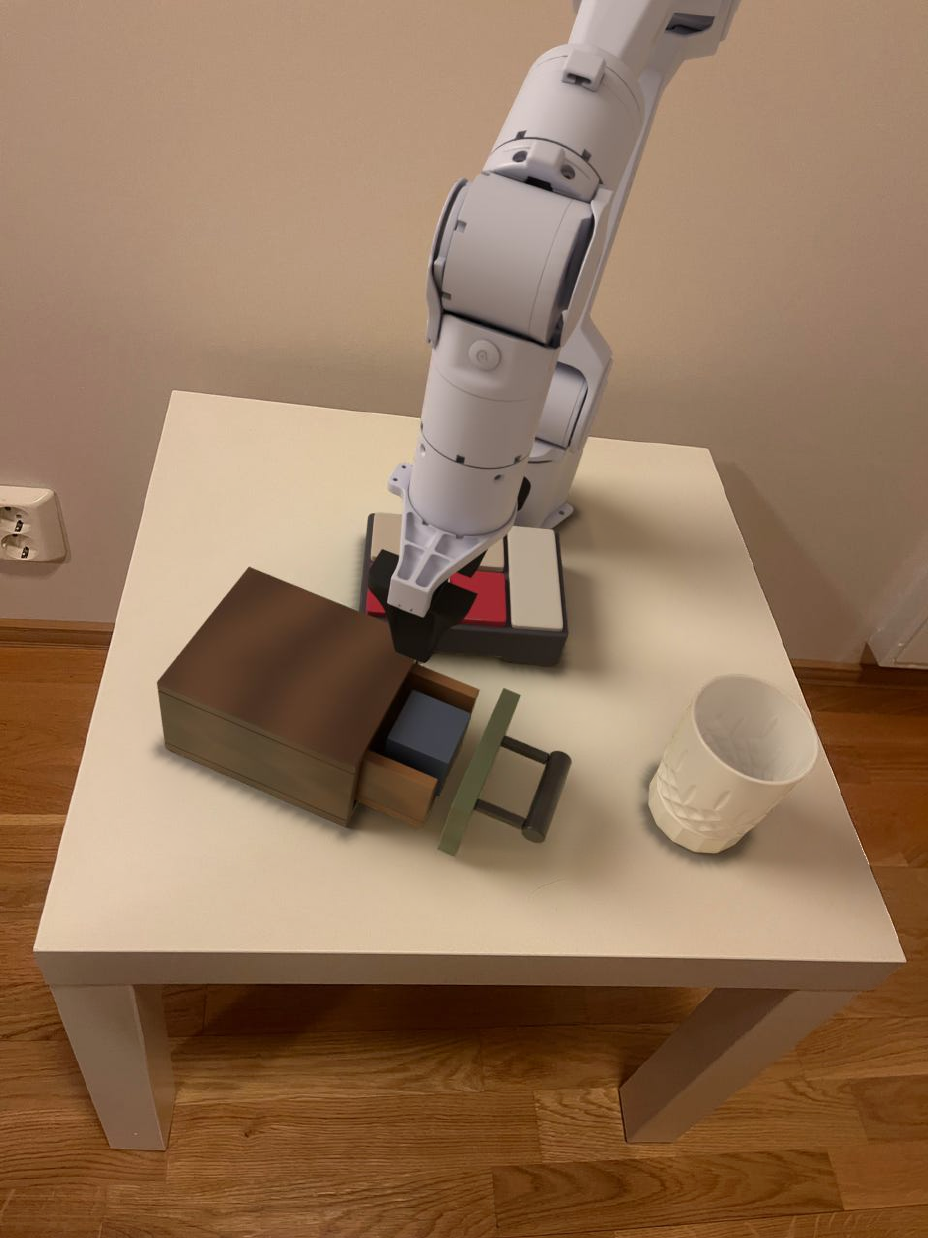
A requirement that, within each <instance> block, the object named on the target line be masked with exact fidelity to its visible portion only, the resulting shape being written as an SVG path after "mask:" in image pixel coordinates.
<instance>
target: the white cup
mask: <svg viewBox="0 0 928 1238" xmlns="http://www.w3.org/2000/svg"><path fill="white" fill-rule="evenodd" d="M819 757H820V739H819V735H818V732H817V728H816V726H815V724H814V723H813V720H812V719H811V717H810V716H809V713H808V712H807V711H806V710H805V708H804V707H803V706H802V705H801V704H800V702H798V700H796V699H795V698H794V697H793V696H792V695H791V694H790V693H788V692H787V691H785V690H784V689H782V688H781V687H779V686H777V685H776V684H774V683H772V682H770V681H769V680H766V679H763V678H760V677H757V676H753V675H749V674H743V673H725V674H720V675H717V676H715V677H712V678H710V679H708V680H707V681H705V682H704V683H702V684H701V685H700V687H698V689H697V691H696V692H695V693H694V696H693V698H692V699H691V702H690V703H689V705H688V707H687V709H686V711H685V712H684V714H683V716H682V718H681V720H680V721H679V723H678V725H677V727H676V729H675V731H674V733H673V734H672V737H671V739H670V741H669V743H668V745H667V748H666V749H665V751H664V753H663V755H662V758H661V761H660V763H659V766H658V769H657V771H656V772H655V774H654V775H653V778H652V779H651V781H650V783H649V785H648V786H649V787H648V797H647V798H648V801H647V805H648V808H649V811H650V813H651V815H652V818H653V820H654V822H655V824H656V826H657V827H658V828H659V829H660V830H661V832H663V834H664V835H666V836H667V838H668V839H670V840H671V841H672V842H673V843H675V844H677V845H679V846H681V847H683V848H684V849H687V850H689V851H691V852H694V853H705V854H718V853H720V852H723V851H725V850H727V849H729V848H731V847H734V846H735V845H736V844H737V843H738V842H739V841H740V840H741V839H742V838H743V837H744V836H745V835H746V834H747V833H748V832H749V831H750V830H752V829H753V828H755V827H756V826H757V825H758V824H760V822H761V821H763V819H764V818H765V817H766V816H768V815H769V814H770V813H771V812H773V810H774V809H775V808H776V807H777V806H778V805H779V804H780V803H781V802H782V801H783V800H784V799H785V798H786V797H787V796H788V795H790V793H791V792H792V791H793V790H794V789H795V788H796V787H798V785H800V783H801V782H802V781H803V780H805V778H806V777H808V775H810V773H811V772H812V771H813V770H814V768H815V766H816V764H817V762H818V761H819Z"/></svg>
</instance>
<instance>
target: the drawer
mask: <svg viewBox="0 0 928 1238" xmlns="http://www.w3.org/2000/svg"><path fill="white" fill-rule="evenodd" d="M412 690H415V691H417V692H420V693H422V694H425V695H427V696H430V697H432V698H434V699H437V700H439V701H442V702H444V703H446V704H449V705H451V706H454V707H456V708H458V709H461V710H463V711H466V712H468V713H471V718H470V721H469V724H468V728H467V731H466V733H467V732H468V730H469V726H470V722H471V719H472V716H473V714H474V710H475V708H476V707H475V706H476V703H477V700H478V698H479V695H480V689H479V688H477V687H474V686H472V685H469V684H467V683H465V682H462V681H460V680H458V679H455V678H452V677H450V676H448V675H445V674H443V673H440V672H438V671H435V670H433V669H431V668H428V667H426V666H423V665H421V664H420V665H419V664H416V663H415V664H414V666H413V668H412V670H411V671H410V673H409V675H408V677H407V679H406V681H405V682H404V684H403V686H402V688H401V690H400V692H399V694H398V695H397V697H396V699H395V701H394V703H393V705H392V706H391V708H390V710H389V712H388V714H387V716H386V717H385V719H384V721H383V723H382V725H381V727H380V728H379V730H378V732H377V734H376V736H375V738H374V739H373V741H372V743H371V745H370V747H369V749H368V750H367V752H366V754H365V756H364V758H363V760H362V762H361V763H360V767H359V773H358V779H357V785H356V791H355V797H354V800H356V801H358V802H359V803H361V804H363V805H366V806H367V807H370V808H372V809H375V810H376V811H379V812H381V813H384V814H386V815H389V816H390V817H393V818H396V819H398V820H400V821H401V822H402V821H403V822H404V823H407V824H410V825H412V826H414V827H416V828H418V829H424V826H425V824H426V822H427V820H428V817H429V815H430V813H431V812H432V809H433V806H434V804H435V802H436V799H437V798H438V797H437V796H434V792H435V789H436V786H437V782H438V779H436V778H434V777H431V776H429V775H427V774H424V773H422V772H420V771H417V770H415V769H413V768H410V767H408V766H406V765H403V764H401V763H398V762H396V761H394V760H391V759H389V758H387V757H384V756H383V755H384V750H385V745H386V740H387V736H388V735H389V733H390V731H391V729H392V727H393V725H394V723H395V721H396V720H397V718H398V716H399V714H400V712H401V710H402V708H403V706H404V705H405V703H406V701H407V699H408V697H409V695H410V693H411V691H412ZM521 696H522V695H521V694H519V693H517V692H515V691H512V690H510V689H508V688H505V687H503V688H502V690H501V692H500V694H499V697H498V699H497V701H496V704H495V706H494V708H493V710H492V713H491V715H490V717H489V720H488V721H487V724H486V726H485V729H484V731H483V732H482V735H481V737H480V740H479V742H478V744H477V747H476V749H475V751H474V754H473V756H472V758H471V760H470V762H469V764H468V767H467V769H466V771H465V774H464V776H463V778H462V781H461V783H460V785H459V787H458V790H457V792H456V794H455V796H454V799H453V800H452V803H451V806H450V808H449V812H448V814H447V817H446V821H445V824H444V827H443V829H442V832H441V836H440V839H439V842H438V844H437V848H436V850H437V851H440V852H442V853H444V854H446V855H449V856H451V857H453V858H455V857H456V856H457V854H458V850H459V849H460V846H461V844H462V841H463V839H464V838H465V837H464V836H465V835H466V832H467V830H468V827H469V825H470V822H471V820H472V818H473V815H474V812H477V813H479V814H482V815H485V816H487V817H489V818H491V819H494V820H495V821H498V822H500V823H503V824H505V825H507V826H510V827H512V828H514V829H517V830H520V833H521V836H522V837H523V838H524V839H525V840H527V841H528V842H531V843H533V844H543V843H544V842H545V841H546V839H547V836H548V833H549V831H550V828H551V825H552V822H553V818H554V815H555V813H556V810H557V806H558V803H559V801H560V798H561V795H562V793H563V790H564V786H565V784H566V782H567V781H566V780H567V778H568V775H569V772H570V769H571V767H572V763H573V759H572V757H571V756H570V755H569V754H568V753H566V752H564V751H561V750H553V751H551V752H550V753H549V752H547V751H545V750H542V749H540V748H538V747H537V748H536V747H535V746H532V745H530V744H527V743H525V742H523V741H520V740H518V739H515V738H513V737H511V736H508V735H507V733H508V731H509V727H510V725H511V723H512V720H513V717H514V714H515V712H516V709H517V706H518V705H519V701H520V699H521ZM502 748H503V749H504V750H507V751H509V752H512V753H514V754H517V755H520V756H522V757H524V758H527V759H530V760H532V761H534V762H536V763H539V764H541V765H543V766H544V768H543V770H542V773H541V776H540V779H539V781H538V784H537V786H536V790H535V792H534V795H533V797H532V800H531V803H530V805H529V808H528V811H527V813H526V816H525V817H524V816H522V815H519V814H518V813H515V812H512V811H510V810H508V809H505V808H504V807H501V806H498V805H496V804H494V803H491V802H489V801H488V800H487V801H486V800H484V799H481V796H482V793H483V791H484V789H485V787H486V784H487V781H488V779H489V777H490V775H491V772H492V770H493V767H494V765H495V762H496V759H497V758H498V755H499V753H500V750H501V749H502Z"/></svg>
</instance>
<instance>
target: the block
mask: <svg viewBox="0 0 928 1238" xmlns="http://www.w3.org/2000/svg"><path fill="white" fill-rule="evenodd" d="M470 718H471V719H472V716H471V713H468V712H466V711H463V710H461V709H458V708H456V707H454V706H451V705H449V704H446V703H444V702H442V701H439V700H437V699H434V698H432V697H430V696H427V695H425V694H422V693H420V692H417V691H415V690H412V691H411V693H410V695H409V697H408V699H407V701H406V703H405V705H404V706H403V708H402V710H401V712H400V714H399V716H398V718H397V720H396V721H395V723H394V725H393V727H392V729H391V731H390V733H389V735H388V736H387V740H386V745H385V750H384V755H383V756H384V757H387V758H389V759H391V760H394V761H396V762H398V763H401V764H403V765H406V766H408V767H410V768H413V769H415V770H417V771H420V772H422V773H424V774H427V775H429V776H431V777H434V778H436V779H438V782H437V786H436V789H435V792H434V796H437V797H436V798H438V797H440V795H441V793H442V791H443V789H444V787H445V785H446V782H447V780H448V778H449V775H450V773H451V771H452V769H453V767H454V765H455V762H456V761H457V758H458V755H459V754H460V751H461V749H462V746H463V743H464V740H465V737H466V734H467V732H468V729H469V726H468V724H469V725H470V723H469V721H470V722H471V720H470ZM467 728H468V729H467ZM466 731H467V732H466Z"/></svg>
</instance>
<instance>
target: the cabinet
mask: <svg viewBox="0 0 928 1238" xmlns="http://www.w3.org/2000/svg"><path fill="white" fill-rule="evenodd" d="M415 663H416V664H419V665H421V663H422V662H419V661H417V660H414V659H412V658H409V657H407V656H405V655H402V654H400V653H397V652H395V650H394V646H393V642H392V637H391V632H390V627H389V623H386V622H384V621H381V620H379V619H376V618H374V617H371V616H369V615H367V614H364V613H362V612H359V610H357V609H355V608H352V607H350V606H347V605H344V604H342V603H339V602H337V601H335V600H332V599H330V598H327V597H325V596H322V595H319V594H318V593H315V592H312V591H310V590H307V589H305V588H303V587H301V586H297V585H295V584H293V583H291V582H288V581H285V580H283V579H282V578H278V577H276V576H274V575H271V574H268V573H265V572H263V571H261V570H258V569H256V568H254V567H252V566H248V567H247V568H246V570H245V571H244V572H243V573H242V575H241V576H240V577H239V578H238V579H237V581H236V582H235V583H234V584H233V585H232V587H231V589H229V591H228V592H227V593H226V595H225V596H223V598H222V600H220V602H219V603H218V604H217V606H216V607H215V608H214V610H213V611H212V612H211V613H210V615H209V616H208V617H207V619H206V620H205V621H204V622H203V623H202V625H201V626H200V627H199V628H198V630H196V632H195V633H194V635H193V636H192V637H191V639H190V640H189V641H188V642H187V644H186V645H185V646H184V647H183V648H182V650H181V651H180V652H179V654H177V656H176V657H175V659H174V660H173V661H172V662H171V663H170V665H169V666H168V667H167V668H166V670H165V671H164V672H163V674H162V675H161V676H159V677H160V678H158V680H156V689H157V695H158V703H159V711H160V719H161V726H162V734H163V742H164V748H165V749H166V750H168V751H170V752H172V753H175V754H177V755H180V756H182V757H184V758H185V759H189V760H191V761H192V762H193V761H194V762H195V763H197V764H200V765H202V766H205V767H207V768H209V769H211V770H213V771H216V772H219V773H220V774H222V775H225V776H227V777H230V778H231V779H235V780H237V781H239V782H241V783H243V784H246V785H249V786H250V787H253V788H255V789H257V790H260V791H262V792H264V793H267V794H269V795H271V796H273V797H276V798H278V799H281V800H283V801H285V802H287V803H290V804H291V805H294V806H296V807H298V808H301V809H303V810H306V811H307V812H310V813H312V814H315V815H317V816H319V817H322V818H324V819H325V820H329V821H331V822H333V823H335V824H337V825H340V826H342V827H344V828H346V827H348V824H349V823H350V820H351V819H352V818H353V817H352V816H353V815H354V813H355V811H356V809H357V807H358V806H359V803H360V802H358V801H356V800H354V797H355V791H356V785H357V779H358V773H359V767H360V763H361V762H362V760H363V758H364V756H365V754H366V752H367V750H368V749H369V747H370V745H371V743H372V741H373V739H374V738H375V736H376V734H377V732H378V730H379V728H380V727H381V725H382V723H383V721H384V719H385V717H386V716H387V714H388V712H389V710H390V708H391V706H392V705H393V703H394V701H395V699H396V697H397V695H398V694H399V692H400V690H401V688H402V686H403V684H404V682H405V681H406V679H407V677H408V675H409V673H410V671H411V670H412V668H413V666H414V664H415Z"/></svg>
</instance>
